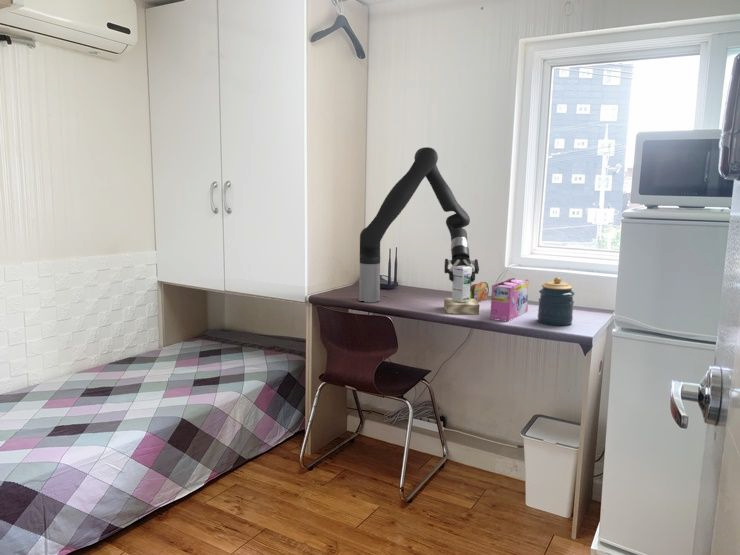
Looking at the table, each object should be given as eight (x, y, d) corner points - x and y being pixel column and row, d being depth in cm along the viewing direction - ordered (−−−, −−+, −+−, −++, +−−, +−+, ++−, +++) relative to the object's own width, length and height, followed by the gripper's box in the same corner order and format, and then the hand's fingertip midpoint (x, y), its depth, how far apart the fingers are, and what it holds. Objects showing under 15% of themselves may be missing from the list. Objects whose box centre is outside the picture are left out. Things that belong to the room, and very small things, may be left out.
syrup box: (462, 302, 228) (463, 268, 226) (451, 300, 233) (452, 266, 230) (471, 301, 232) (472, 266, 230) (460, 298, 237) (461, 264, 234)
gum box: (510, 308, 239) (512, 277, 237) (529, 311, 234) (530, 279, 232) (489, 319, 219) (491, 285, 217) (509, 322, 215) (510, 287, 213)
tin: (474, 303, 248) (475, 285, 246) (467, 303, 249) (468, 284, 248) (489, 298, 259) (489, 281, 258) (482, 297, 261) (483, 280, 260)
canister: (543, 326, 209) (546, 279, 206) (533, 318, 222) (535, 274, 219) (577, 326, 209) (581, 280, 206) (565, 318, 222) (568, 274, 219)
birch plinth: (447, 313, 227) (447, 304, 226) (443, 307, 240) (444, 298, 239) (479, 314, 226) (479, 304, 226) (474, 307, 239) (474, 298, 239)
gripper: (444, 244, 236) (446, 275, 227) (477, 244, 236) (481, 275, 226) (442, 255, 242) (444, 285, 233) (475, 255, 242) (478, 286, 233)
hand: (462, 280), depth 230 cm, fingers closed on syrup box, 8 cm apart
